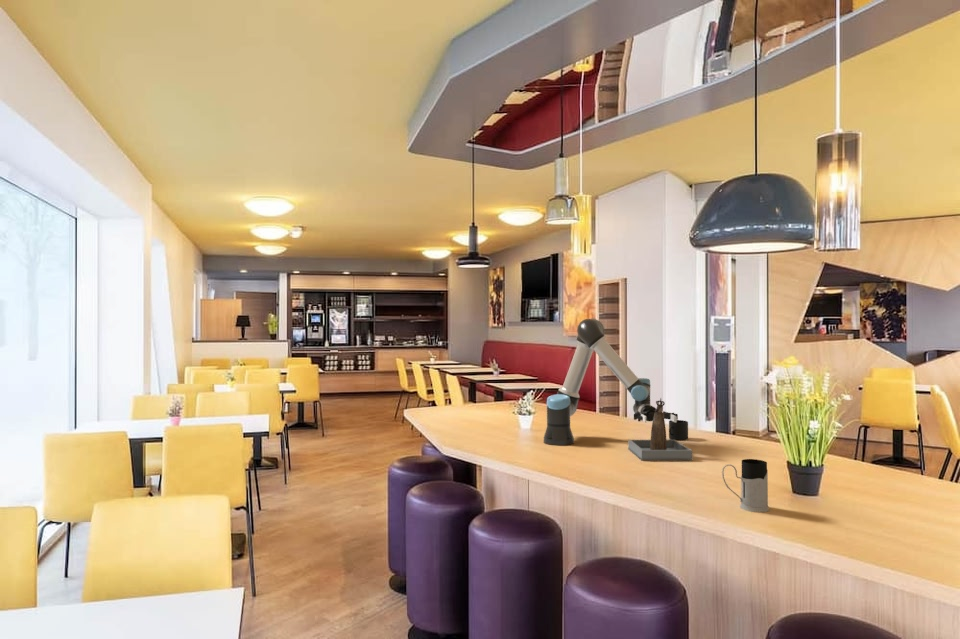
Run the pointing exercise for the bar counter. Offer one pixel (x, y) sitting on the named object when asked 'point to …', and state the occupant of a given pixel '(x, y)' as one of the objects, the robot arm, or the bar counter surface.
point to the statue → (658, 429)
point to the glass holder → (753, 485)
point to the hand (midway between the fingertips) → (660, 419)
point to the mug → (678, 430)
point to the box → (660, 451)
